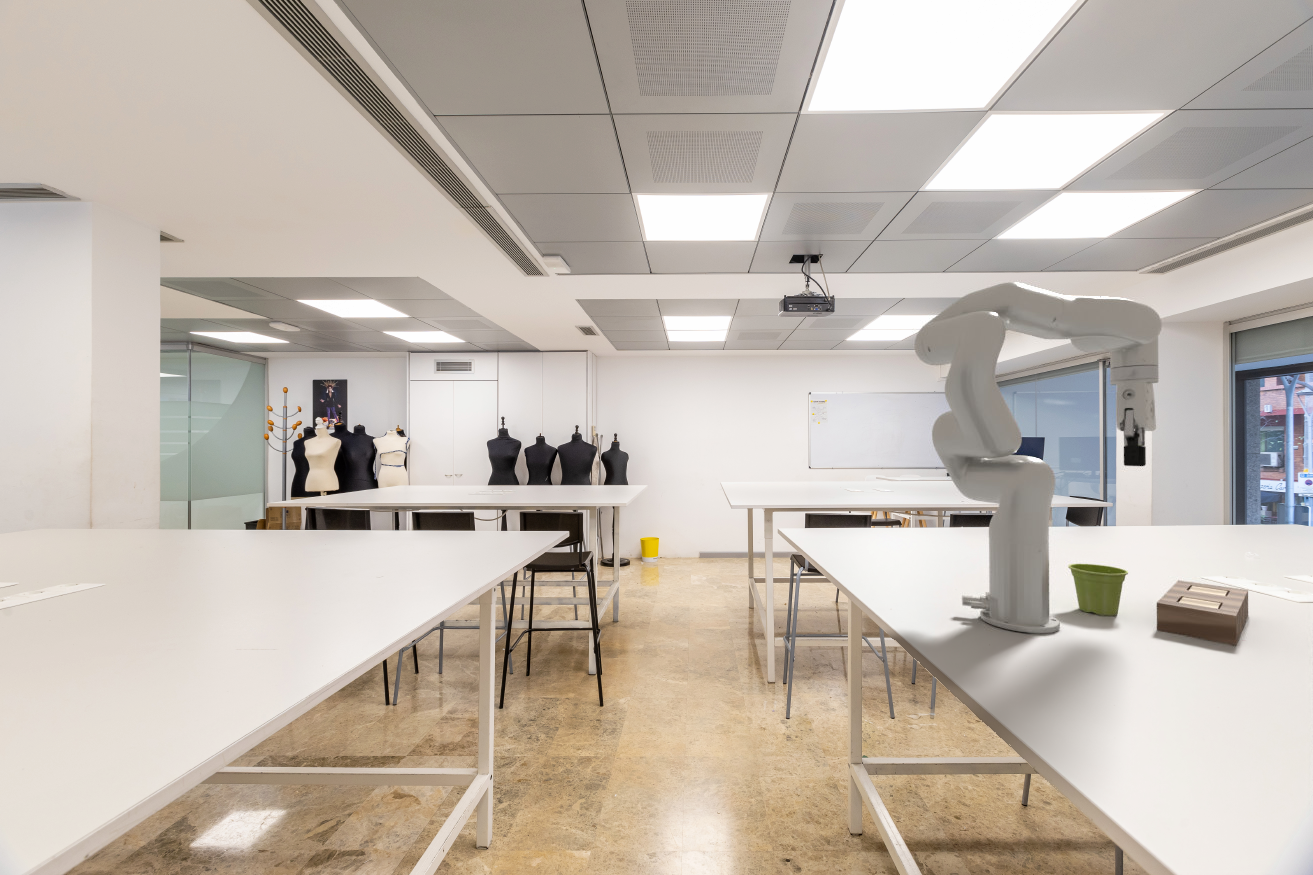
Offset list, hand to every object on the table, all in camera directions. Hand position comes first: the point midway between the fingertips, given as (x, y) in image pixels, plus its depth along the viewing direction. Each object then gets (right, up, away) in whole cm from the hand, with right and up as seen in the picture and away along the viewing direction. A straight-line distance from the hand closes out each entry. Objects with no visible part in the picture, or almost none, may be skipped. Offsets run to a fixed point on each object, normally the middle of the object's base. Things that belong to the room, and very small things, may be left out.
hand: (1134, 465), depth 114 cm
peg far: (+9, -29, -6) cm, 31 cm away
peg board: (+5, -29, -10) cm, 31 cm away
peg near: (0, -29, -13) cm, 32 cm away
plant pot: (-10, -29, -2) cm, 31 cm away
